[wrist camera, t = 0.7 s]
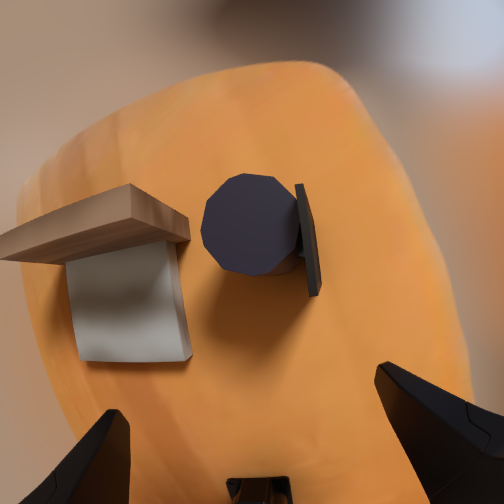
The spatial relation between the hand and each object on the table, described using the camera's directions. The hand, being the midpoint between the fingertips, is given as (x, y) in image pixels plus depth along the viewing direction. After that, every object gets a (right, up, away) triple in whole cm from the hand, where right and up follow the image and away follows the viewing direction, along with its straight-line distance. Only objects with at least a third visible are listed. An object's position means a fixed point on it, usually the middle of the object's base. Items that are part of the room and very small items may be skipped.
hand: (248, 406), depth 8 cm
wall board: (-12, 0, +16) cm, 20 cm away
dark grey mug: (+2, +5, +15) cm, 16 cm away
